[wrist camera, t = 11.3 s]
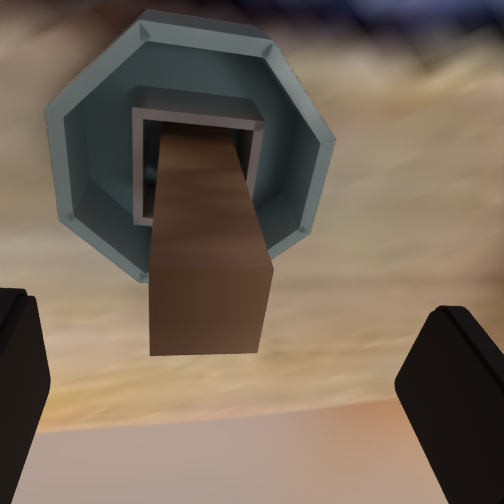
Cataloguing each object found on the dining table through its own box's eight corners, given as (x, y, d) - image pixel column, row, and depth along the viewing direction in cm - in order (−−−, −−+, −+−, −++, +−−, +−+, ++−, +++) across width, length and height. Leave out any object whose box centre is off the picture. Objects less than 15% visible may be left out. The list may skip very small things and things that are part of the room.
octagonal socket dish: (323, 36, 19) (358, 53, 15) (278, 239, 25) (295, 286, 21) (63, -6, 17) (31, 3, 13) (84, 230, 23) (66, 281, 19)
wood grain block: (226, 120, 20) (273, 269, 10) (220, 177, 21) (257, 352, 12) (162, 114, 19) (148, 267, 9) (162, 174, 21) (149, 355, 11)
